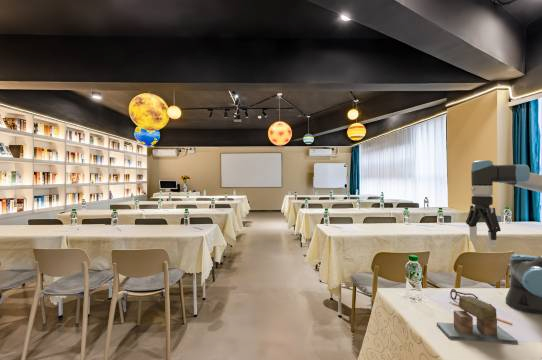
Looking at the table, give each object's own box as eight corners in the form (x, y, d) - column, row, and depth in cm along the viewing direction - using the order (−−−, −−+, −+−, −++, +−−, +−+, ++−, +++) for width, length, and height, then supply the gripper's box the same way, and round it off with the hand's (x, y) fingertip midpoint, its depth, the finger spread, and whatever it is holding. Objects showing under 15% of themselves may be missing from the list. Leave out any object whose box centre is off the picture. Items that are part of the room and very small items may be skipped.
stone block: (483, 322, 98) (483, 308, 98) (456, 308, 110) (456, 295, 110) (498, 321, 99) (498, 306, 99) (470, 307, 111) (469, 294, 111)
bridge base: (498, 328, 108) (498, 310, 108) (517, 343, 98) (517, 323, 98) (436, 324, 111) (436, 306, 111) (449, 338, 101) (449, 318, 101)
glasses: (449, 297, 139) (449, 287, 139) (477, 298, 138) (477, 288, 138) (465, 309, 126) (465, 298, 126) (497, 310, 125) (496, 299, 125)
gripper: (457, 194, 138) (458, 238, 138) (490, 196, 113) (491, 250, 113) (474, 194, 137) (474, 238, 137) (511, 197, 112) (511, 251, 112)
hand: (482, 244), depth 125 cm, fingers open, 13 cm apart
